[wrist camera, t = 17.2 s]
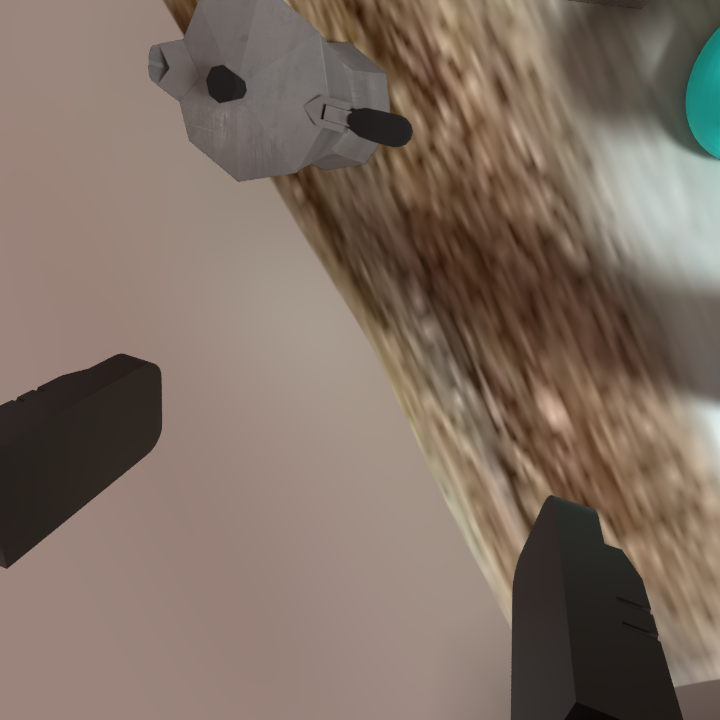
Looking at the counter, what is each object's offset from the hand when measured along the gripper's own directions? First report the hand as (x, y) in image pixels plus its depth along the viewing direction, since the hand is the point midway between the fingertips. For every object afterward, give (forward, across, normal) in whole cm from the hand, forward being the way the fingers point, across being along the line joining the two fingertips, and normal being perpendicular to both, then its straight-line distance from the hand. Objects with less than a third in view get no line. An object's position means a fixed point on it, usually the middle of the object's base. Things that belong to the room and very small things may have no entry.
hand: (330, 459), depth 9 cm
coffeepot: (+34, +12, -6) cm, 36 cm away
